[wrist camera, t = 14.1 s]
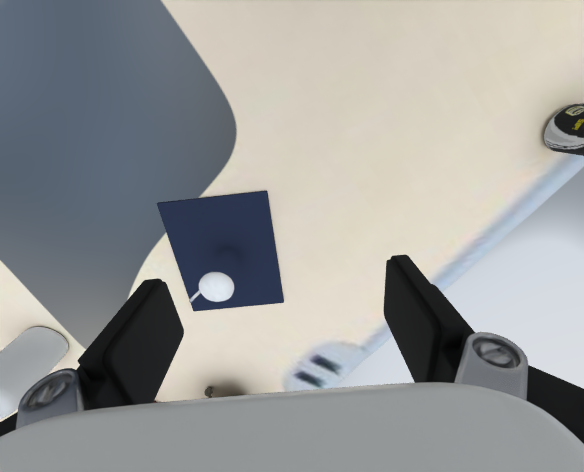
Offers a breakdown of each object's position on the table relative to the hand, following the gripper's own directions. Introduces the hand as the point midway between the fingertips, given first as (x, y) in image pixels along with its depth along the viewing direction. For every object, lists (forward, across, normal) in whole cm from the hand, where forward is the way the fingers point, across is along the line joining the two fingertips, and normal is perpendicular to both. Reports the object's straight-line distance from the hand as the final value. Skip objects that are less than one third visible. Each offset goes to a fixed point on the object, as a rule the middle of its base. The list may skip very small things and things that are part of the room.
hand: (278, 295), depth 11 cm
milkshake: (+28, +11, +13) cm, 33 cm away
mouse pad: (+28, +11, +13) cm, 33 cm away
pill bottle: (+28, +48, +27) cm, 62 cm away
